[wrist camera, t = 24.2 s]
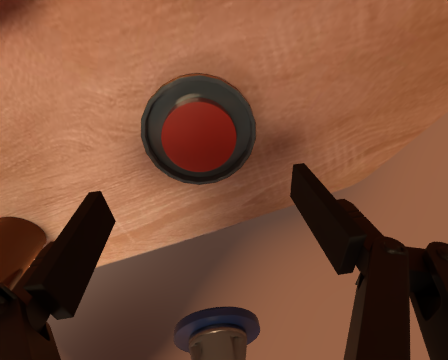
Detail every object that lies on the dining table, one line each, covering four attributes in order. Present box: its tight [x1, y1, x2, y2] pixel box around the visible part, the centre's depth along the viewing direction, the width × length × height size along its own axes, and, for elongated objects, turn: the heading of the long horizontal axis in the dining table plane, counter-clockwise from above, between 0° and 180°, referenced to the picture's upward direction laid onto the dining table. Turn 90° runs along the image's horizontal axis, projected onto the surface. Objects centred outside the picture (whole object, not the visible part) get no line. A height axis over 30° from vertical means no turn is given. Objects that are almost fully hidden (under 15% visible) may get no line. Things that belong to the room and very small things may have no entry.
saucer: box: [141, 74, 256, 185], centre depth 23 cm, size 12×12×2 cm
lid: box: [161, 97, 236, 172], centre depth 23 cm, size 8×8×2 cm
